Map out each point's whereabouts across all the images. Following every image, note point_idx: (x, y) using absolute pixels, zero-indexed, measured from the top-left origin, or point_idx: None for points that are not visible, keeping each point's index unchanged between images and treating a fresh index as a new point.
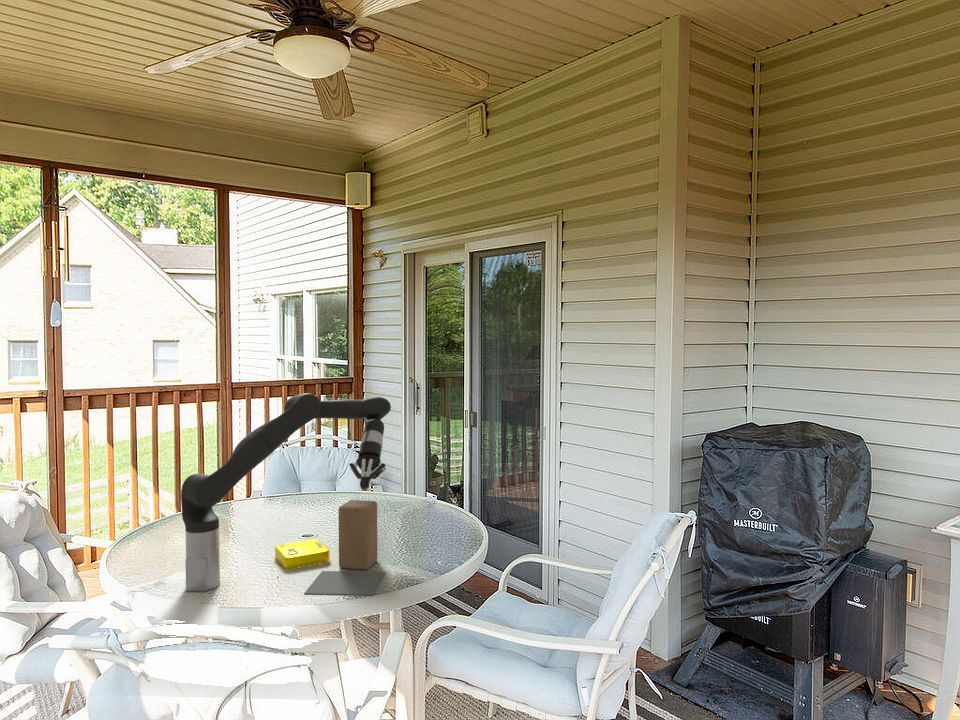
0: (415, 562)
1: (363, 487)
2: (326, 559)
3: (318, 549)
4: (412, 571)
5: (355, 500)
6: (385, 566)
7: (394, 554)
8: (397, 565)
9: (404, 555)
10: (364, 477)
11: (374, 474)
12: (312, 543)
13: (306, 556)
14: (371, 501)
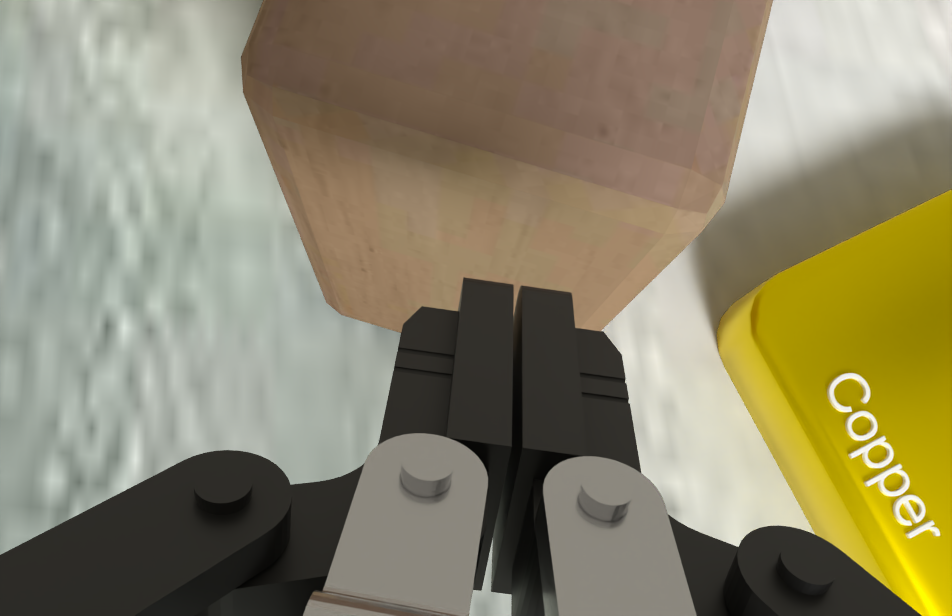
0: (11, 237)
1: (515, 310)
2: (741, 298)
3: (846, 325)
4: (54, 49)
5: (613, 135)
6: (260, 174)
7: (181, 456)
8: (164, 185)
9: (92, 421)
10: (533, 445)
11: (181, 475)
12: (946, 508)
13: (904, 212)
14: (328, 35)
